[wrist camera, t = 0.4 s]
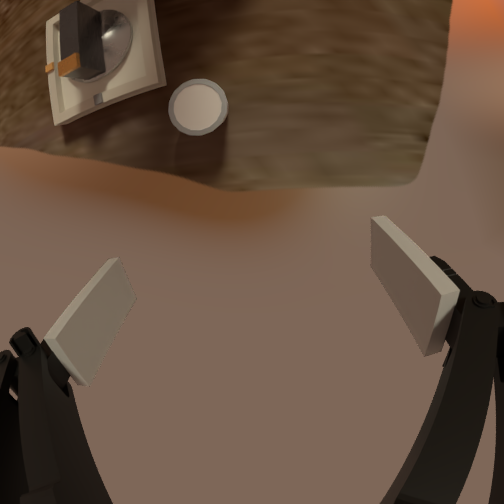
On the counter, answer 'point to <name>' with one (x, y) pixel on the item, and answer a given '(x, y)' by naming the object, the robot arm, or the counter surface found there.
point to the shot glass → (198, 107)
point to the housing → (117, 82)
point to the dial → (92, 42)
